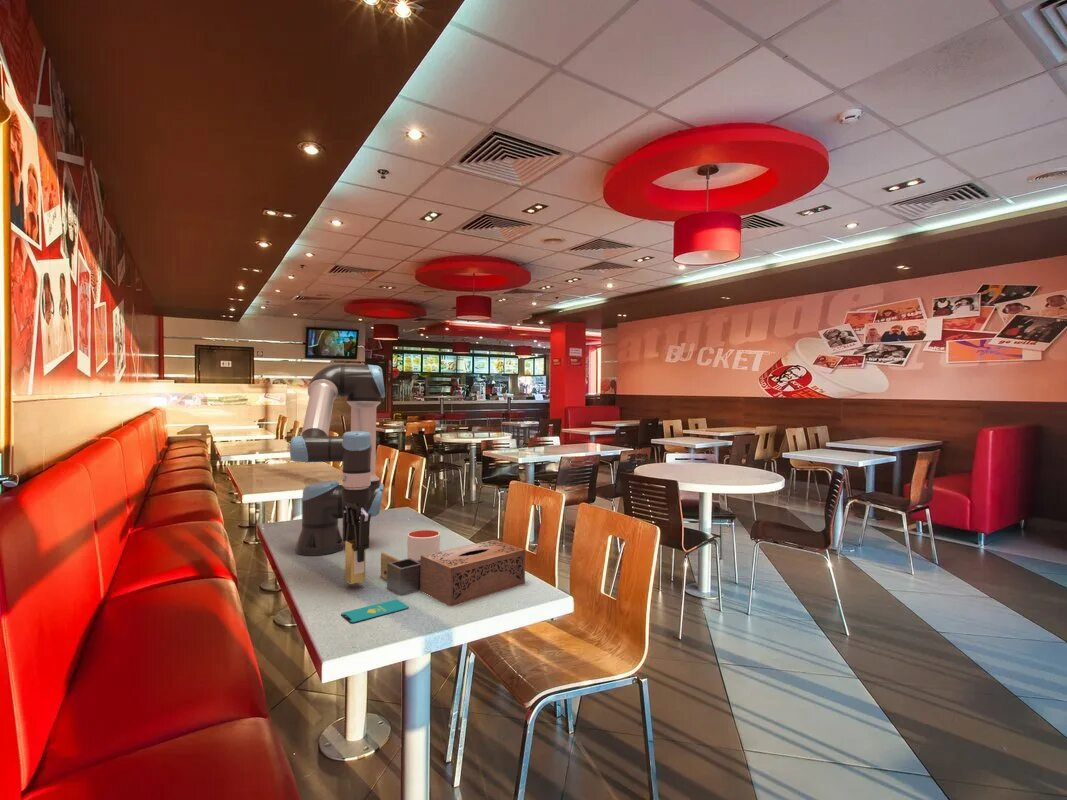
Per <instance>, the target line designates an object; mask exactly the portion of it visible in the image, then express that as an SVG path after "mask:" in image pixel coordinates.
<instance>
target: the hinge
mask: <svg viewBox="0 0 1067 800" xmlns="http://www.w3.org/2000/svg"><path fill="white" fill-rule="evenodd" d="M420 565H421V560H417V561H416V560H414V559H411V558H408V559H407V558H405V559H399V558H397V557H394V556H393V555H389V554H388V553H386V552H381V553H380V578H383V579H385V580H386V589H387V590H389V591H391V592H393V593H394V594H397V595H398V596H403V595H407V594H411V593H414V591H415V592H418V591H420Z"/></svg>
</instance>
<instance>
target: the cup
mask: <svg viewBox="0 0 1067 800" xmlns="http://www.w3.org/2000/svg"><path fill="white" fill-rule="evenodd" d="M440 547H441V533H440V532H439V531H438V530H432V529H431V530H429V529H423V530H422V529H420V530H413V531H410V532H409V533H407V552H406V553H407V557H406V559H408V558H411V559H414V560H416V561H417V560H421V555H426V554H430V553H435V552H439V551H441V550H440Z"/></svg>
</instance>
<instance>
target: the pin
mask: <svg viewBox="0 0 1067 800" xmlns="http://www.w3.org/2000/svg"><path fill="white" fill-rule="evenodd" d="M344 544H345V551H344V554H345V557H344V558H345V559H344V580H345V581H346V582H347V583H349V584H351V585H352V584H356V583H360V582H361V583H362V582H365V581H366V549H365V550H364V572H363V573H359V574H354V551H353V549H356V547H355V539H352V540H346V543H345V542H344Z"/></svg>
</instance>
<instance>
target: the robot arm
mask: <svg viewBox="0 0 1067 800" xmlns="http://www.w3.org/2000/svg"><path fill="white" fill-rule="evenodd" d="M383 375H384V374H383V369H382V367H381V366H379V365H374V364H359V363H358V364H355V363H351V364H348V363H345V364H343V363H334V364H331V365H327V366H325V367H323V368H322V369H321V370H319V371H318V372H316V373H315V375H314V376H313V377H311V379H310V381H309V383H308V387H307V395H308V401H307V407H306V410H305V415H304V420H303V424H302V429H301V434H300V435H296V436H292V437H291V439H290V443H289V455H290V459H291V461H292V462H294V463H305V464H306V463H326V462H328V463H329V462H331V463H334V462H337V463H339V462H340V463H341V462H342V470H341V471H342V473H341V474H342V476H341V477H340V479H341V481H342V482H341V483H342V484H340V482H339V481H338V480H324V481H319V482H313V483H310V484H308V485H306V486H304V488H303V489H302V496H301V497H302V499H301V502H302V504H301V505H302V507H301V511H302V513H301V515H302V516H301V517H302V518H301V531H300V533H299V536H298V538H297V541H296V545H295V552H296V554H299V555H303V556H323V555H329V554H334V553H337V552H340V551H342V550H343V549H344V544H345V543H346V540H352V539H355V547H356V549H353V551H354V574H359V573H363V572H364V550H365V551H366V550H367V549H370V529H371V528H370V526H371V524H370V523H371V518H375V517H378V516H379V514H380V512H381V506H382V501H383V494H384V487H385V485H384V483H382V482H381V481H380V479H381V478H379V476H378V475H377V473H376V457H377V455H376V454H377V453H376V451H377V450H376V449H377V408H378V406H379V405H381V404H382V399H384V398H386V392H385V384H384V376H383ZM339 397H340V398H346V403H347V404H348V405H349V406H350V408H351V409H350V412H351V413H350V431H346V432H344V433H343V435H329V433H330V428H331V421H332V414H333V413H332V412H333V406H334V401H336V399H337V398H339ZM339 519H342V534H341V532H340V527H339Z"/></svg>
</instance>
